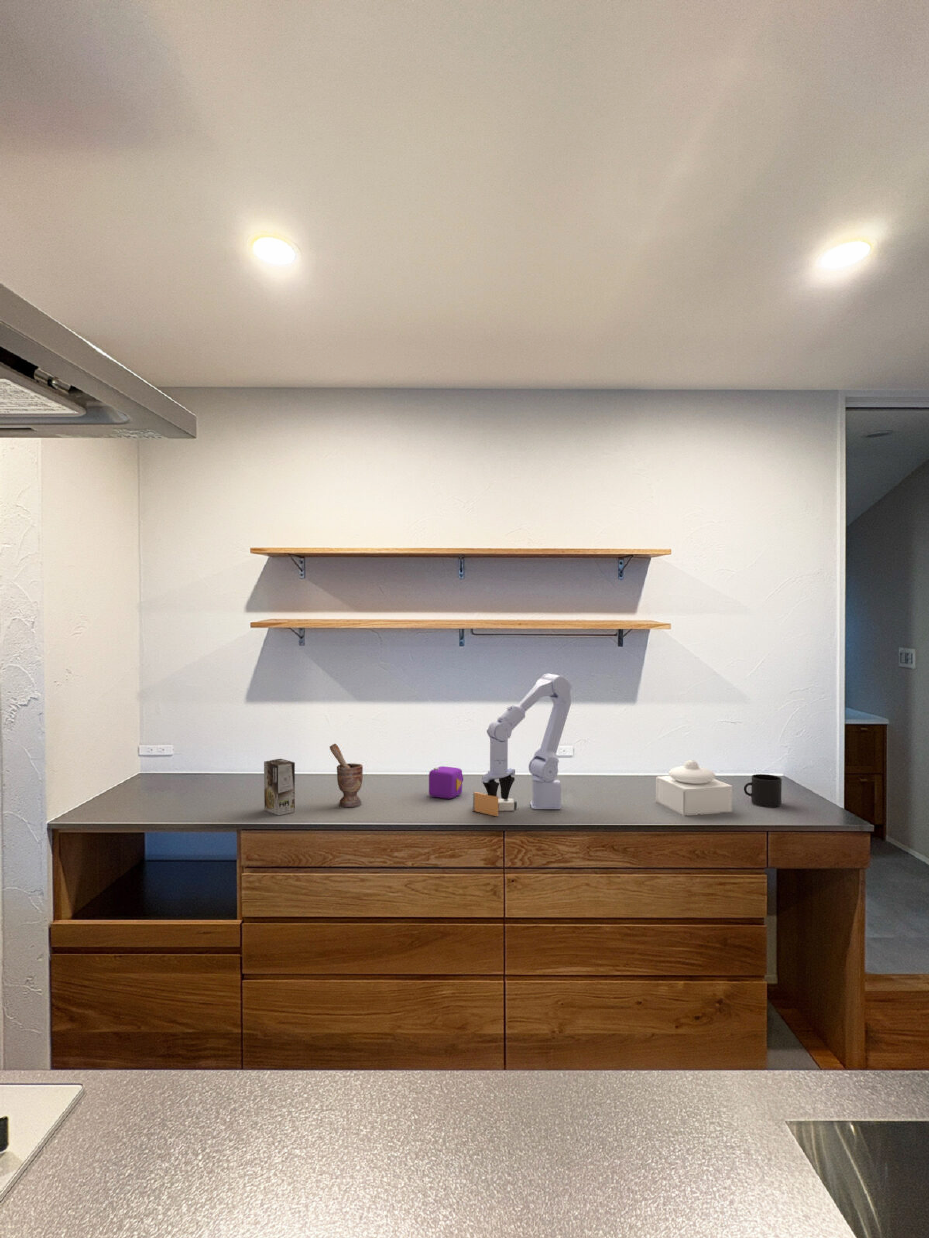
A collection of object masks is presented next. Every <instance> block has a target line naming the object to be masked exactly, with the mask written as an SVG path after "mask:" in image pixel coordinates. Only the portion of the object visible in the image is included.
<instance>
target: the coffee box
mask: <svg viewBox="0 0 929 1238" xmlns="http://www.w3.org/2000/svg"><path fill="white" fill-rule="evenodd" d="M295 767H296V763H295V762H294V761H291V760H287V759H283V758H276V759H271V760H266V761H264V762H263V783H264V785H263V788H264V789H263V793H264V794H263V797H264V798H263V799H264V801H263V802H264V811H266V812H269V813H271V814H273V815H276V816H282V815H286V814H287V815H288V814H291V813H296V811H295V810H296V807H295V806H296V805H295V804H296V799H295V798H296V793H295V791H296V790H295V789H296V788H295V786H296V784H295V783H296V777H295V775H296V774H295V773H296V772H295V771H296V770H295V769H296V768H295Z"/></svg>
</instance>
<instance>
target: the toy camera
mask: <svg viewBox="0 0 929 1238" xmlns="http://www.w3.org/2000/svg"><path fill="white" fill-rule="evenodd" d="M463 782H464V776H463V770H462V769H461V768H459V767H451V766H438V767H433V769H431V770H430V771H429V773H428V794H429V796H430V797H432V798H433V797H434V798H439V799H448V800H452V799H453V798H456V797H458V796H459V795H461V794H462V792H463Z"/></svg>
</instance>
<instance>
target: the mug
mask: <svg viewBox="0 0 929 1238" xmlns="http://www.w3.org/2000/svg"><path fill="white" fill-rule="evenodd" d="M782 780H783V779H782V777H780V776H777V775H773V774H764V773H763V774H762V773H758V774H752V775H751V781H750V782H747V783H745V784H744V787H743V792H744V794H745V795H746V796H748V797H751V798H750V799H751V804H752V805H755V806H757V807H763V808H778V807H781V805H782V789H783V788H782V787H783V786H782V785H783V784H782ZM748 786H750V787H751V792H748V790H747V787H748Z"/></svg>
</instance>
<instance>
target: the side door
mask: <svg viewBox="0 0 929 1238" xmlns="http://www.w3.org/2000/svg"><path fill="white" fill-rule="evenodd" d="M498 799H499V796H497V797H496V796H492V795H488V793H481V792H478V791H473V792H472V811H474V812H478V813H482V814H486V815H490V816H493V817H494V816H495V817H498V816H499V811H498Z"/></svg>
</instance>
